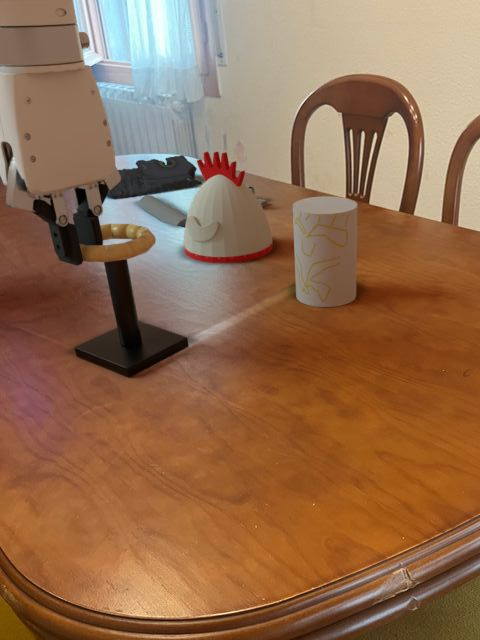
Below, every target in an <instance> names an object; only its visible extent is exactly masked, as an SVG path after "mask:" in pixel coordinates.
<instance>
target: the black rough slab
mask: <svg viewBox="0 0 480 640" xmlns="http://www.w3.org/2000/svg"><path fill="white" fill-rule="evenodd" d="M164 160H165V161H166V162H165V161H163V160H159V159H157V158H152V159H149V160H145V159H139V160H137V161H136V162H135V165H136V167H132V168H122V169H117V170H118V172H119V173H120V175H121V181H120V182H119V183H118V184H117V185H116V186H115V187H114V188H113V189H112V190H110V191H108V194H107V196H106V197H108V198H111V199H114V198H132V197H139V196H147V195H153V194H159V193H166V192H173V191H179V190H185V189H189V188H190V189H191V188H195V187H197V186H198V185H202V181H201V180H198V179H196V178H195V177H196V172H197V169H198V168H197V166H195V165H194V163H192V162H191V161H189V160H188V159H187V158H186V157H185V155H183V154H181V155H173V156H169V157H165V159H164Z"/></svg>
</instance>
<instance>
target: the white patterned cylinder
mask: <svg viewBox="0 0 480 640" xmlns="http://www.w3.org/2000/svg"><path fill="white" fill-rule="evenodd" d="M292 224H293V226H292V228H293V248H294V250H293V253H294V274H295V275H294V276H295V297H296V299H297V300H298V302H300V303H301V304H303V305H306V306H310V307H316V308H334V307H341V306H345V305H348V304H350V303H352V302H353V301H354V300H355V299H356V298H357V271H358V270H357V268H358V267H357V265H358V264H357V262H358V260H357V258H358V257H357V256H358V203H357V202H356V201H355V200H353V199H351V198H347V197H341V196H328V195H327V196H313V197H307V198H303V199H302V198H301V199H299V200H297V201H295V202H294V203H293V204H292Z"/></svg>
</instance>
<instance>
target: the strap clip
mask: <svg viewBox="0 0 480 640" xmlns="http://www.w3.org/2000/svg"><path fill="white" fill-rule="evenodd" d="M246 186H247V187H248V188H249V189H250V190H251V191H252V192H253V193H254V195H255V196H256V192H255V187H254V186H249V185H246ZM257 199H258V200H259V202H261V204H262V207H265V206H266V205H267V203H268V201H267V199H263V198H257Z"/></svg>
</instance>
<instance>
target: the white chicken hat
mask: <svg viewBox="0 0 480 640" xmlns="http://www.w3.org/2000/svg"><path fill="white" fill-rule="evenodd" d="M196 163H197V166H198V169H199V171H200V172H201V175H202V177H203V179H204V182H203V184H201V186H200V187H199V189H198V190H197V191H196V193H195V195H194V197H193V199H192V201H191V203H190V205H189V208H188V212H187V215H186V216H187V219H186V226H185V227H184V233H183V249H184V253H185V255H186V256H187V257H188V258H190V259H192V260H194V261H198V262H202V263H209V264H210V263H211V264H232V263H242V262H246V261H247V262H248V261H252V260H255V259H258V258H261V257H263V256H266V255H267V254H269V253H270V252H271V251H272V250H273V249H274V244H273V242H274V241H273V234H272V229H271V227H270V224H269V221H268V218H267V216H266V212H265V210H264V208H263V206H262V204H261V202H259V200H258V199H259V198H257V196H256V194H255V195H254V193H253V192H252V189H251V188H248V187H247V186H248V185H247V184H246V183H245V182H244V179H245V175H246V174H245V173H246V170H241V171H240V172H239V174H238V176H237V175H236V173H237V160H235V161H232V162H230V161H229V157H228V153H227V151H225V152H222V153H221V157H220V153H219V151H215V152H213V156H212V158H211V154H210V152H209V151H205V152H203V159H201V158H200V159H197V160H196Z"/></svg>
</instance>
